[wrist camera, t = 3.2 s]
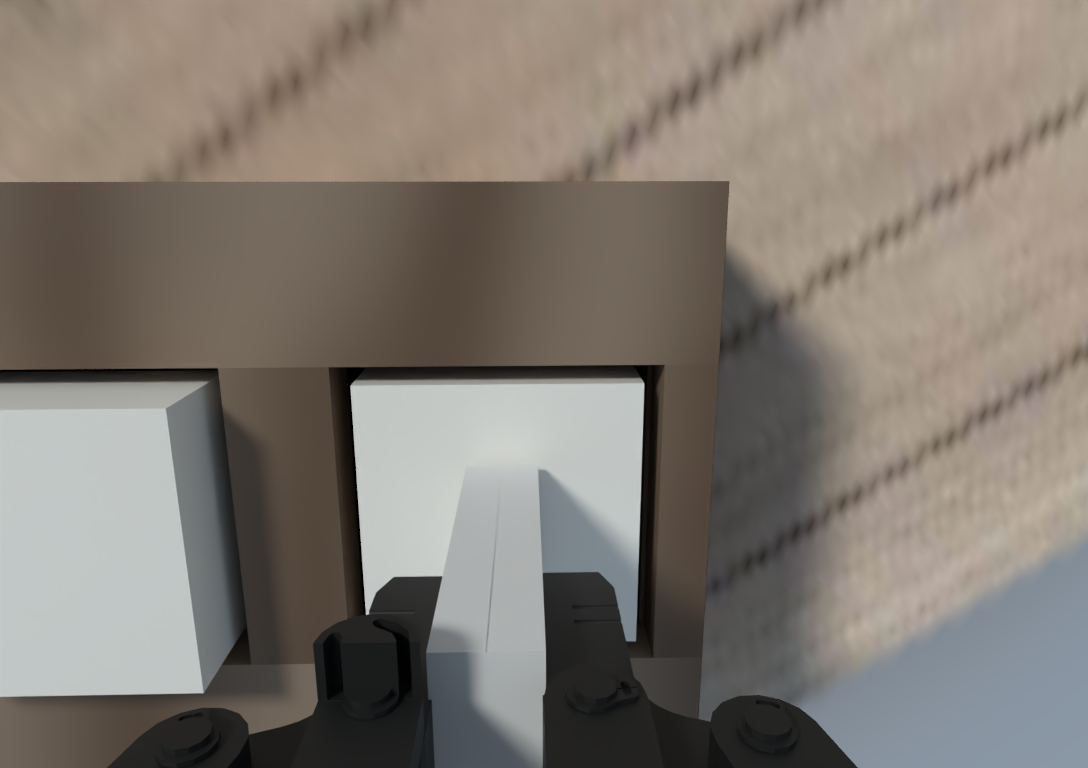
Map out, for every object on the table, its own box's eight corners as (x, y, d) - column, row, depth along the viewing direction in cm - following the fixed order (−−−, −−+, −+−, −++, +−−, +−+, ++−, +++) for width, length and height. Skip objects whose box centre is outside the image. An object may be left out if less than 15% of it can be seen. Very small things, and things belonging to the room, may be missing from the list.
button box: (-209, 647, 24) (-476, 814, 17) (-342, 185, 20) (-738, 183, 14) (649, 633, 24) (694, 789, 18) (667, 183, 21) (729, 181, 14)
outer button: (390, 578, 20) (368, 646, 17) (378, 354, 18) (350, 385, 15) (619, 575, 20) (635, 641, 17) (625, 352, 18) (644, 383, 15)
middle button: (1, 616, 18) (-100, 698, 15) (-49, 372, 16) (-171, 411, 14) (255, 612, 18) (203, 692, 15) (228, 369, 17) (165, 408, 14)
